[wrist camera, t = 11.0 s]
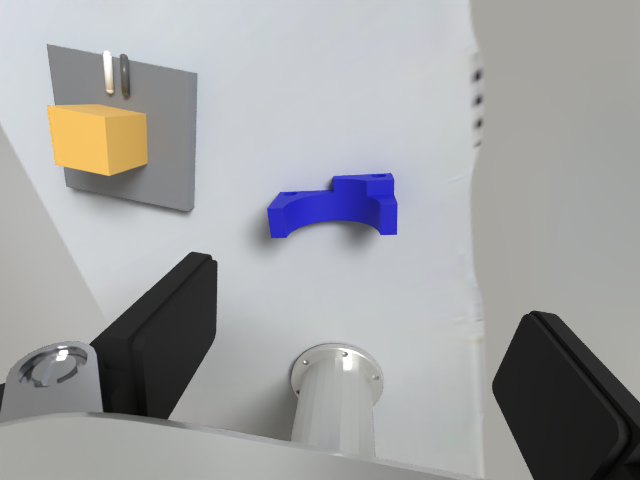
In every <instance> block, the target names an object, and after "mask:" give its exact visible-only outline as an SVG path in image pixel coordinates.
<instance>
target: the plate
mask: <svg viewBox="0 0 640 480" xmlns="http://www.w3.org/2000/svg"><path fill="white" fill-rule="evenodd" d="M47 50H48V57H49V64H50V72H51V79H52V86H53V93H54V101H55V105H84V104H100V105H105V106H109V107H114V108H119V109H124V110H129V111H134V112H139V113H144V114H146V124H147V157H148V164H145V165H142V166H139V167H136V168H132V169H129V170H126V171H123V172H120V173H117V174H114V175H111V176H107V175H102V174H98V173H93V172H88V171H83V170H78V169H73V168H69V167H64V173H65V180H66V186H67V187H72V188H77V189H82V190H86V191H91V192H96V193H101V194H106V195H111V196H116V197H121V198H125V199H130V200H135V201H140V202H145V203H150V204H155V205H160V206H164V207H169V208H174V209H179V210H184V211H189V210H191V209H192V208H194V188H195V146H196V104H197V73H192V72H187V71H182V70H177V69H172V68H167V67H162V66H157V65H152V64H147V63H141V62H136V61H131V60H128V57H127V56H126V55H125V54H121V55H120V58H116V57H112V55H111V53H110V52H109V51H104V52H103V55H101V54H96V53H91V52H85V51H80V50H75V49H70V48H65V47H60V46H54V45H48V44H47Z"/></svg>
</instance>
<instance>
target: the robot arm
mask: <svg viewBox="0 0 640 480" xmlns="http://www.w3.org/2000/svg"><path fill="white" fill-rule="evenodd" d="M216 314H217V261H216V260H212V256H211V255H209V254H203V253H197V252H191V253H189V254H188V255H187V256H186V257H185V258H184V259H183V260H182V261H181V262H179V263H178V264H177V265H176V266H175V267H174V268H173V269H172V270H171V271H170V272H168V273H167V274H166V275H165V276H164V277H163V278H162V279H161V280H160V281H159V282H157V283H156V284H155V285H154V286H153V287H152V288H151V289H150V290H149V291H147V292H146V293H145V294H144V295H143V296H142V297H141V298H139V299H138V300H137V301H136V302H135V303H134V304H133V305H132V306H131V307H130V308H128V309H127V310H126V311H125V312H124V313H123V314H122V315H121V316H120V317H119V318H117V319H116V320H115V321H114V322H113V323H112V324H111V325H110V326H109V327H108V328H107V329H105V330H104V331H103V332H102V333H101V334H100V335H99V336H98V337H97V338H95V339H94V340H93V341H92V342H91V343H90V344H86V343H82V342H78V341H66V342H60V343H54V344H51V345H48V346H44V347H42V348H39V349H37V350H35V351H33V352H31V353H29V354H27V355H26V356H25V357H23V358H22V359H20V360H19V361H18V362H17V363H16V364H15V365H14V366H13V367H12V368H11V369H10V371H9V373H8V376H7V378H6V383H3V384H0V480H489V479H484V478H479V477H474V476H469V475H464V474H458V473H453V472H448V471H443V470H438V469H432V468H427V467H422V466H417V465H412V464H406V463H401V462H396V461H391V460H385V459H380V458H376V454H375V436H374V418H373V406H374V405H375V404H376V403H377V402H378V401H379V399H380V397H381V395H382V392H383V377H382V372H381V370H380V368H379V366H378V364H377V363H376V362H375V360H374V359H372V358H371V357H370V356H369V355H368V354H366V353H365V352H363V351H362V350H359V349H357V348H355V347H352V346H348V345H344V344H324V345H320V346H316V347H314V348H311V349H309V350H308V351H306V352H305V353H303V354H302V355H301V356H300V357H299V358H298V359H297V361H296V363H295V364H294V367H293V370H292V376H291V385H292V388H293V391H294V393H295V395H296V396H297V398H298V404H297V409H296V414H295V419H294V425H293V430H292V435H291V440H290V441H284V440H279V439H273V438H268V437H263V436H257V435H252V434H246V433H241V432H236V431H230V430H225V429H219V428H213V427H207V426H201V425H195V424H189V423H183V422H177V421H171V420H167V419H168V418H169V416H170V414H171V413H172V411H173V409H174V408H175V406H176V404H177V402H178V401H179V399H180V397H181V396H182V394H183V392H184V391H185V389H186V387H187V386H188V384H189V382H190V381H191V379H192V377H193V375H194V374H195V372H196V370H197V369H198V367H199V365H200V364H201V362H202V360H203V359H204V357H205V355H206V354H207V352H208V350H209V348H210V347H211V345H212V343H213V341H214V339H215V335H216ZM492 390H493V394H494V396H495V398H496V401H497V403H498V405H499V407H500V409H501V411H502V413H503V415H504V417H505V420H506V421H507V424H508V426H509V428H510V430H511V432H512V434H513V436H514V439H515V440H516V443H517V445H518V447H519V449H520V451H521V453H522V456H523V458H524V459H525V462H526V464H527V466H528V468H529V470H530V473H531V474H532V477H533V479H534V480H640V402H639V401H638V400H637V399H636V398H635V397H634V396H633V395H632V394H631V393H630V392H629V391H628V390H627V389H626V387H624V385H623V384H622V383H621V382H620V381H619V380H618V379H617V378H616V377H615V376H614V375H613V374H612V373H611V372H610V371H609V370H608V368H607V367H606V366H605V365H604V364H603V363H602V362H601V361H600V360H599V359H598V358H597V357H596V356H595V355H594V354H593V353H592V352H591V350H590V349H589V348H588V347H587V346H586V345H585V344H584V343H583V342H582V341H581V340H580V339H579V338H578V337H577V336H576V335H575V334H574V332H572V330H571V329H570V328H569V327H568V326H567V325H566V324H565V323H564V322H563V321H562V320H561V319H560V318H559V317H558V316H557V315H555V314H552V313H546V312H540V311H531V312H530V313H529V314H526V315H524V316H523V317H522V319H521V321H520V323H519V326H518V328H517V330H516V332H515V334H514V337H513V339H512V341H511V343H510V345H509V347H508V350H507V352H506V354H505V356H504V358H503V361H502V363H501V365H500V367H499V369H498V371H497V373H496V376H495V378H494V380H493V383H492Z"/></svg>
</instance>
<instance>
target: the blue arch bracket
mask: <svg viewBox="0 0 640 480" xmlns="http://www.w3.org/2000/svg"><path fill="white" fill-rule="evenodd" d="M333 188H334V190H322V191H299V192H280V193H279V194H278V196H277V197H276V198H275V200H274V201H273V202H272V203H271V205H270V206H269V207H268V208H267V210H268V218H269V225H270V232H271V238H287V236H288V235H289V234H290V233H291V232H292V231H294V230H296V229H297V228H300V227H302V226H305V225H308V224H312V223H316V222H322V221H332V220H347V221H356V222H361V223H365V224H368V225H370V226H373V227H374V228H376V229H377V230H378V231H379V233H380V235H397V201H396V199H395V196H394V178H393V176H392V174H391V173H388V174H367V175H347V176H334V177H333Z"/></svg>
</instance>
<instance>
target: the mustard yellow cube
mask: <svg viewBox="0 0 640 480" xmlns="http://www.w3.org/2000/svg"><path fill="white" fill-rule="evenodd" d="M47 111H48V118H49V125H50V131H51V138H52V145H53V152H54V159H55V165H59V166H64V167H69V168H73V169H78V170H83V171H88V172H93V173H98V174H102V175H107V176H111V175H114V174H117V173H120V172H123V171H126V170H129V169H132V168H136V167H139V166H142V165H145V164H148V157H147V124H146V114H144V113H139V112H134V111H129V110H124V109H119V108H114V107H109V106H105V105H100V104H84V105H49V106H47Z"/></svg>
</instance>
